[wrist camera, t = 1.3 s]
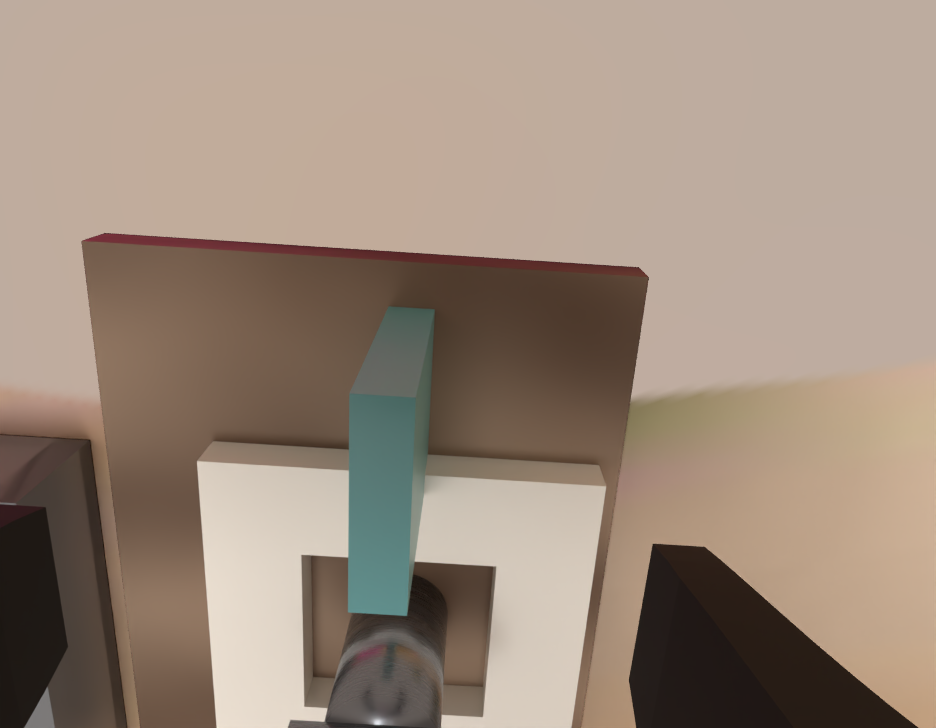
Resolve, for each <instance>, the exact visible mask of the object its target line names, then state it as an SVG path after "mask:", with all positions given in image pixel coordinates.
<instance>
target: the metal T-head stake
mask: <svg viewBox="0 0 936 728" xmlns="http://www.w3.org/2000/svg"><path fill="white" fill-rule="evenodd" d="M447 618H448V609H447V604H446V601H445V599H444V597H443V595H442V593H441V592H440V591H439V589H438V588H437V587H436V586H435V585H433V584H432V583H431V582H429V581H428V580H426V579H424V578H422V577H420V576H417V575H414V574H413V577H412V584H411V591H410V598H409V605H408V613H407V616H400V615H383V614H366V613H351V617H350V621H349V625H348V629H347V633H346V637H345V641H344V645H343V649H342V653H341V657H340V661H339V665H338V669H337V673H336V677H335V681H334V685H333V689H332V693H331V697H330V701H329V705H328V709H327V713H326V717H325V721H324V722H319V721H302V720H290V722H289V726H288V728H441V719H442V702H443V686H444V669H445V652H446V635H447Z"/></svg>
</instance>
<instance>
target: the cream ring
mask: <svg viewBox="0 0 936 728" xmlns="http://www.w3.org/2000/svg"><path fill="white" fill-rule="evenodd" d="M434 315H435V309H421V308H405V307H390V306H389V307H388V309H387V311H386V313H385V316H384V318H383V320H382V322H381V324H380V327H379V329H378V331H377V333H376V335H375V338H374V340H373V342H372V344H371V347H370V349H369V351H368V353H367V355H366V358H365V360H364V362H363V364H362V367H361V369H360V371H359V373H358V375H357V378H356V380H355V382H354V384H353V386H352V389H351V391H350V393H349V450H347V449H331V448H315V447H299V446H283V445H266V444H250V443H234V442H218V441H213V442H212V443H211V444H210V445H209V447H208V448H207V449H206V450H205V452H204V453H203V454H202V455H201V457H200V458H199V459H198V460H197V470H198V483H199V497H200V510H201V524H202V537H203V551H204V564H205V578H206V591H207V605H208V618H209V632H210V645H211V659H212V672H213V686H214V699H215V713H216V726H217V728H288V726H289V722H290V720H302V721H319V722H324V721H325V717H326V713H327V709H328V705H329V701H330V697H331V693H332V689H333V685H334V681H335V678H323V677H313V642H312V572H311V555H315V556H331V557H348V612H350V613H366V614H383V615H400V616H407V613H408V605H409V598H410V591H411V584H412V577H413V570H414V562H431V563H447V564H464V565H480V566H493V577H492V588H491V599H490V611H489V622H488V634H487V645H486V656H485V668H484V679H483V687H475V686H458V685H444V686H443V702H442V719H441V728H571V727H572V720H573V713H574V706H575V699H576V692H577V685H578V679H579V672H580V665H581V658H582V651H583V644H584V637H585V630H586V623H587V616H588V609H589V603H590V596H591V589H592V582H593V575H594V568H595V561H596V554H597V547H598V540H599V533H600V526H601V520H602V513H603V506H604V499H605V492H606V484H605V481H604V478H603V475H602V472H601V469H600V466H599V465H590V464H574V463H558V462H542V461H525V460H509V459H493V458H477V457H461V456H445V455H428V440H429V420H430V399H431V378H432V357H433V336H434Z"/></svg>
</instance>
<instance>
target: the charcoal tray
mask: <svg viewBox="0 0 936 728" xmlns="http://www.w3.org/2000/svg"><path fill="white" fill-rule="evenodd" d="M0 504H4V505H21V506H37V507H46V512H47V518H48V524H49V531H50V537H51V543H52V549H53V556H54V562H55V568H56V574H57V581H58V587H59V593H60V599H61V606H62V612H63V618H64V625H65V631H66V637H67V643H68V648H67V650H66V652H65V654H64V656H63V658H62V660H61V662H60V664H59V665H58V667H57V669H56V671H55V673H54V675H53V677H52V679H51V681H50V683H49V685H48V687H47V688H46V690H45V692H44V694H43V696H42V698H41V699H40V701H39V703H38V705H37V706H36V708H35V710H34V712H33V713H32V715H31V717H30V719H29V720H28V722H27V724H26V726H25V727H24V728H127V726H126V718H125V711H124V703H123V695H122V688H121V680H120V672H119V664H118V657H117V649H116V641H115V634H114V626H113V618H112V610H111V603H110V595H109V587H108V580H107V572H106V564H105V556H104V549H103V541H102V533H101V525H100V518H99V510H98V502H97V495H96V487H95V479H94V471H93V464H92V456H91V448H90V441H89V440H76V439H59V438H43V437H27V436H11V435H0Z"/></svg>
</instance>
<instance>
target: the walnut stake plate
mask: <svg viewBox="0 0 936 728" xmlns="http://www.w3.org/2000/svg"><path fill="white" fill-rule="evenodd" d="M82 249H83V258H84V266H85V274H86V283H87V291H88V299H89V307H90V316H91V324H92V332H93V340H94V349H95V356H96V364H97V373H98V382H99V390H100V398H101V406H102V415H103V423H104V431H105V439H106V448H107V456H108V464H109V472H110V481H111V489H112V497H113V506H114V514H115V522H116V530H117V539H118V547H119V555H120V563H121V572H122V580H123V588H124V596H125V605H126V613H127V621H128V629H129V638H130V646H131V654H132V662H133V671H134V679H135V687H136V695H137V704H138V712H139V720H140V728H217V726H216V713H215V699H214V686H213V672H212V659H211V645H210V632H209V618H208V605H207V591H206V578H205V564H204V551H203V537H202V524H201V510H200V497H199V483H198V470H197V460H198V459H199V458H200V457H201V455H202V454H203V453H204V452H205V450H206V449H207V448H208V447H209V445H210V444H211V443H212V442H213V441H218V442H234V443H250V444H266V445H283V446H299V447H315V448H331V449H347V450H349V393H350V391H351V389H352V386H353V384H354V382H355V380H356V378H357V375H358V373H359V371H360V369H361V367H362V364H363V362H364V360H365V358H366V355H367V353H368V351H369V349H370V347H371V344H372V342H373V340H374V338H375V335H376V333H377V331H378V329H379V327H380V324H381V322H382V320H383V318H384V316H385V313H386V311H387V309H388V307H389V306H390V307H405V308H421V309H435V315H434V336H433V357H432V378H431V399H430V420H429V440H428V455H445V456H461V457H477V458H493V459H509V460H525V461H542V462H558V463H574V464H590V465H599V466H600V469H601V472H602V475H603V478H604V481H605V484H606V492H605V499H604V506H603V513H602V520H601V526H600V533H599V540H598V547H597V554H596V561H595V568H594V575H593V582H592V589H591V596H590V603H589V609H588V616H587V623H586V630H585V637H584V644H583V651H582V658H581V665H580V672H579V679H578V685H577V692H576V699H575V706H574V713H573V720H572V727H571V728H581V725H582V718H583V711H584V705H585V698H586V691H587V685H588V678H589V671H590V665H591V658H592V651H593V645H594V638H595V632H596V625H597V618H598V612H599V605H600V598H601V592H602V585H603V578H604V572H605V565H606V558H607V552H608V545H609V539H610V532H611V525H612V519H613V512H614V505H615V499H616V492H617V485H618V479H619V472H620V466H621V459H622V452H623V446H624V439H625V432H626V426H627V419H628V412H629V406H630V399H631V392H632V386H633V379H634V372H635V366H636V359H637V353H638V346H639V339H640V332H641V325H642V319H643V313H644V305H645V299H646V293H647V286H648V280H649V277H648V276H647V275H646V274H645V273H644V272H643V271H642V270H641V269H640V268H639V267H624V266H609V265H593V264H577V263H562V262H561V263H560V262H547V261H530V260H515V259H499V258H484V257H469V256H468V257H467V256H452V255H437V254H422V253H406V252H391V251H375V250H359V249H343V248H328V247H311V246H297V245H282V244H266V243H250V242H234V241H219V240H203V239H188V238H172V237H157V236H140V235H125V234H111V233H104V234H101V235H98V236H95V237H92V238H89V239H86V240H83V241H82ZM311 572H312V642H313V677H323V678H335V677H336V673H337V669H338V665H339V661H340V657H341V653H342V649H343V645H344V641H345V637H346V633H347V629H348V625H349V621H350V617H351V613H350V612H348V557H331V556H315V555H311ZM413 574H414V575H417V576H420V577H422V578H424V579H426V580H428V581H429V582H431V583H432V584H433V585H435V586H436V587H437V588H438V589H439V591H440V592H441V593H442V595H443V597H444V599H445V601H446V604H447V609H448V618H447V635H446V652H445V669H444V685H458V686H475V687H483V679H484V668H485V656H486V645H487V634H488V622H489V611H490V599H491V588H492V577H493V566H480V565H464V564H447V563H431V562H414V570H413Z"/></svg>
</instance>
